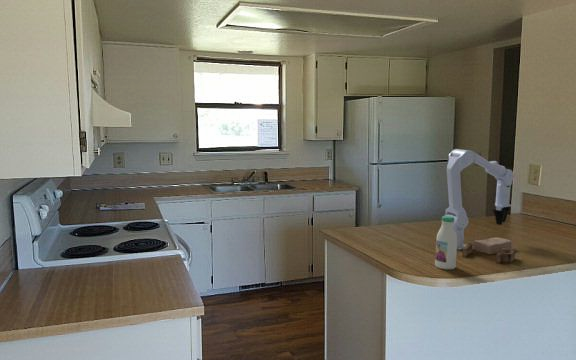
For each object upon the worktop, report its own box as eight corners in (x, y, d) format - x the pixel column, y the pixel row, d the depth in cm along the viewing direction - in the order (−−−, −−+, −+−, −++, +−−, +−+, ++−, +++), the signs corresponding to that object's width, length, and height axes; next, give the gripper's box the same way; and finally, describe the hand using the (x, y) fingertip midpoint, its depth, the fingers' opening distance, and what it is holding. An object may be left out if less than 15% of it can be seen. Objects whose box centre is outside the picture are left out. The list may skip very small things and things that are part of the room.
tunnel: (462, 256, 188) (462, 248, 187) (470, 250, 196) (470, 242, 196) (508, 265, 177) (509, 256, 176) (514, 258, 186) (515, 250, 185)
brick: (495, 245, 206) (495, 235, 205) (512, 250, 199) (513, 239, 198) (472, 250, 197) (472, 240, 197) (489, 255, 190) (489, 245, 190)
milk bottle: (450, 263, 178) (453, 214, 175) (458, 270, 170) (462, 219, 168) (431, 263, 178) (434, 214, 175) (439, 270, 170) (442, 218, 168)
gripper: (508, 197, 198) (506, 227, 200) (515, 193, 209) (513, 221, 211) (492, 195, 202) (489, 224, 204) (499, 191, 214) (497, 219, 215)
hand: (500, 223), depth 208 cm, fingers open, 6 cm apart
